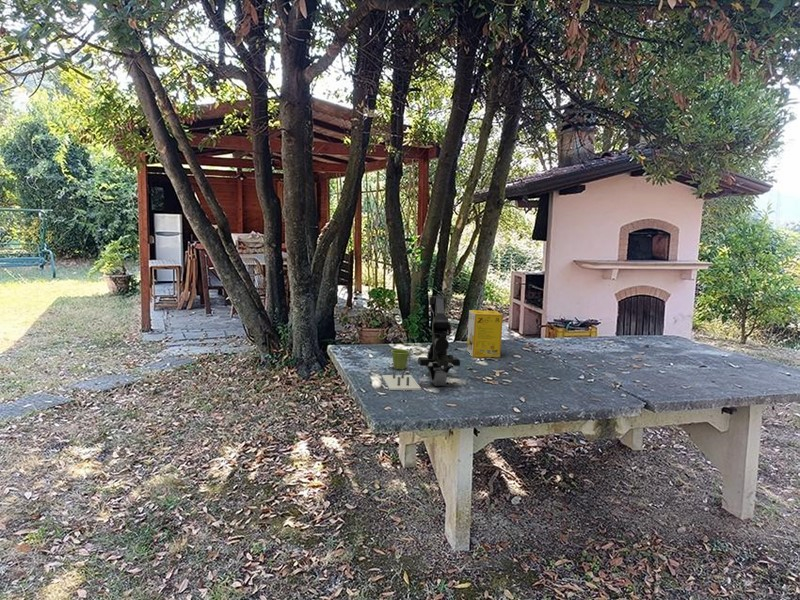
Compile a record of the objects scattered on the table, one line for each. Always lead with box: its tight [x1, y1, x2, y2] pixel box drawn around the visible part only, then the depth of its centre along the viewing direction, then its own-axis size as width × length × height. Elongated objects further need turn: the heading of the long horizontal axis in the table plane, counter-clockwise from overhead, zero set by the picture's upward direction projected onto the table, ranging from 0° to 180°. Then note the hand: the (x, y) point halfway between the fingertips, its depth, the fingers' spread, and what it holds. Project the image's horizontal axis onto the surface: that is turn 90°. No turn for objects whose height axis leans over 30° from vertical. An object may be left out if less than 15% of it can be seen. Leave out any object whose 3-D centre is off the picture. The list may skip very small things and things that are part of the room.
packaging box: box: [466, 309, 504, 358], centre depth 310 cm, size 16×16×25 cm
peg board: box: [381, 369, 422, 392], centre depth 241 cm, size 22×14×4 cm, turn 11°
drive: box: [429, 367, 448, 387], centre depth 243 cm, size 9×5×6 cm, turn 11°
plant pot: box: [390, 349, 410, 370], centre depth 269 cm, size 9×9×9 cm
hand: (438, 379), depth 243 cm, fingers closed on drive, 5 cm apart
